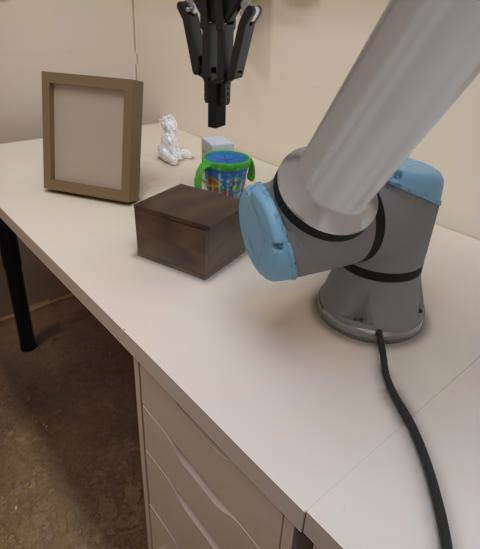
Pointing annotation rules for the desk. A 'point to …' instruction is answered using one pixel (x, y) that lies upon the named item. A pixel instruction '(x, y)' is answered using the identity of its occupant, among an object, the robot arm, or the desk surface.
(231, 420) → the desk surface
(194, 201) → the lid
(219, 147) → the small box
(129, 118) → the photo frame
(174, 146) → the white creature statuette
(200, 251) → the box
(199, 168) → the snack cup
